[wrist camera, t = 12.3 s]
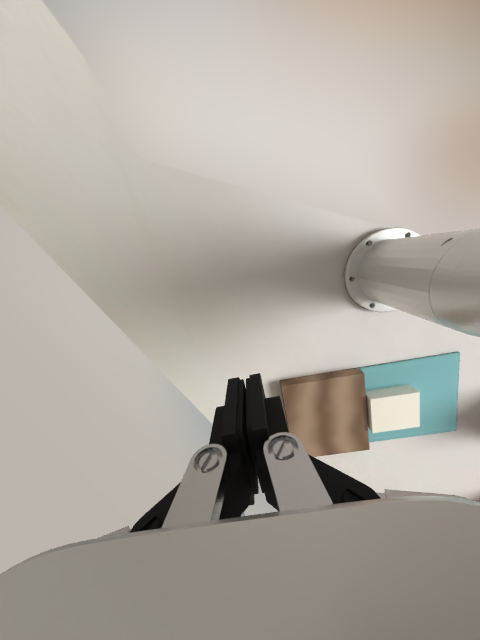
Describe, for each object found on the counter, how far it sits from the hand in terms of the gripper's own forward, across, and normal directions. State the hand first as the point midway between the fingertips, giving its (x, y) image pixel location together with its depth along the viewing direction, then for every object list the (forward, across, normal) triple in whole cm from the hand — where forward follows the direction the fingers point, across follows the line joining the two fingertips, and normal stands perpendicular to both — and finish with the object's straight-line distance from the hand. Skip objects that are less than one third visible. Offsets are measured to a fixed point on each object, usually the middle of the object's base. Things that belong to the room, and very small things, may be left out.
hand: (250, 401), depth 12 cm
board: (+27, -10, +24) cm, 37 cm away
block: (+25, -21, +24) cm, 41 cm away
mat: (+27, -25, +24) cm, 44 cm away
